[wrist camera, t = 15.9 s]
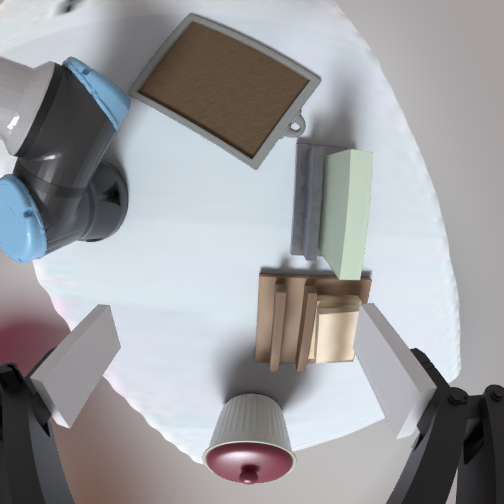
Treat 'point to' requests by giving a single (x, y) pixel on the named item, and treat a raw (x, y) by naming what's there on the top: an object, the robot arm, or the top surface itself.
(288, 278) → the rack
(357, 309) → the offcut upper
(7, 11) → the top surface
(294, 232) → the stand
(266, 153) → the grey brown flat board
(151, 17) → the top surface
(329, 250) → the panel
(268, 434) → the canister
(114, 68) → the top surface
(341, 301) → the offcut lower
